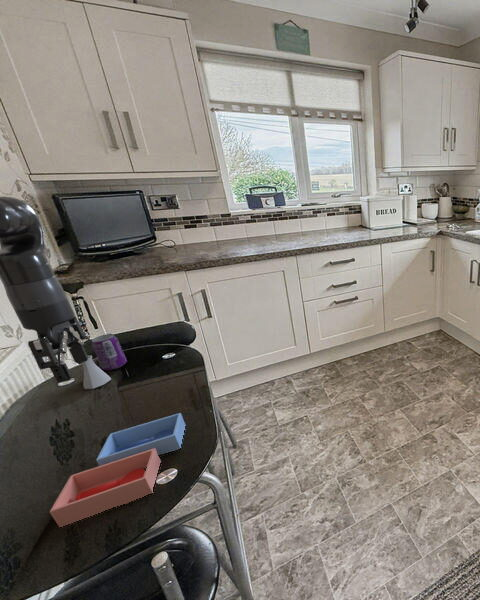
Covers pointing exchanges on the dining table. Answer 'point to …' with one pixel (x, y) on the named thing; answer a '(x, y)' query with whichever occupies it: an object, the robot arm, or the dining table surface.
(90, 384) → the flask
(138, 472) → the red spoon
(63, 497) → the rose bin
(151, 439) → the blue spoon
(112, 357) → the beverage can
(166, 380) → the dining table surface
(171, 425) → the blue bin
